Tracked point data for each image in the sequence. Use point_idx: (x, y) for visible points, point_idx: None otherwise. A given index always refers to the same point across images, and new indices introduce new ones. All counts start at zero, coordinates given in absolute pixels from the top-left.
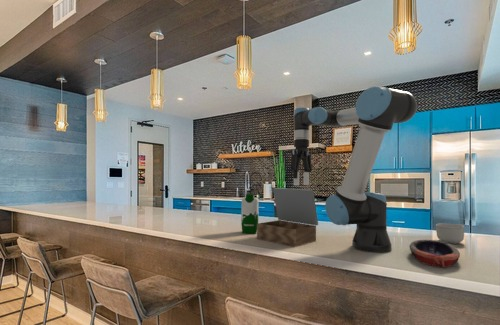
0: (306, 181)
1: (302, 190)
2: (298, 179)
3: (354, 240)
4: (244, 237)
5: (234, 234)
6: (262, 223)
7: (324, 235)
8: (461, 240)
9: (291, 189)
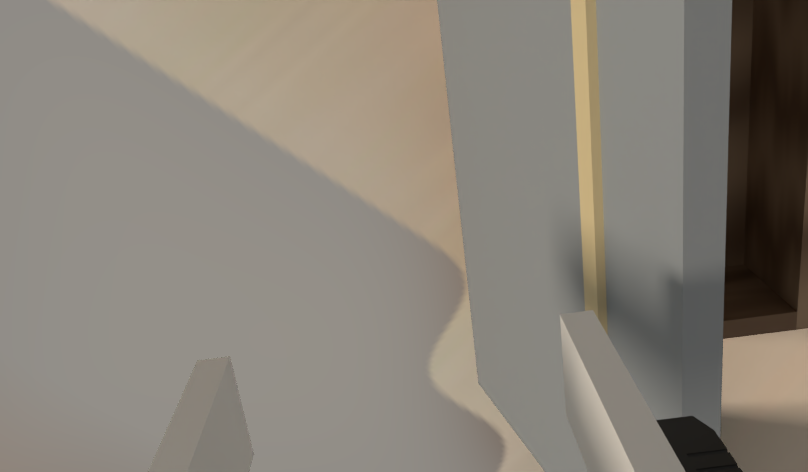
0: (223, 439)
1: (724, 43)
2: (621, 379)
3: None
4: (791, 351)
5: (765, 467)
6: (763, 315)
7: (171, 36)
8: None
9: (722, 299)
